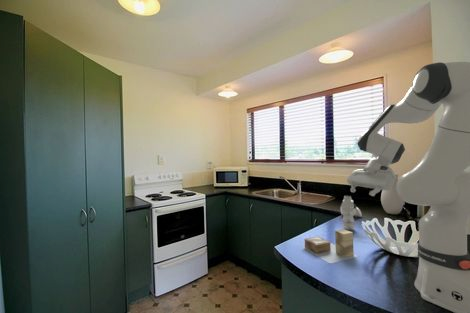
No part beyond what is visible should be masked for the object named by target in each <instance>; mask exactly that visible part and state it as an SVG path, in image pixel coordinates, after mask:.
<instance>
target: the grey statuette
mask: <svg viewBox="0 0 470 313" xmlns="http://www.w3.org/2000/svg"><path fill="white" fill-rule="evenodd" d="M343 200H344V201H343ZM343 200H342V202H341V204H342V210H343V215H342V224H341V226H342V228H343V229H345V230H347V231H354V230H355V228H356V224H355V220H354V217H353V210H354V204H355V203H354V202H353V203H354V204H353V203H352V202H351V200H352V196H351V195H344V196H343Z"/></svg>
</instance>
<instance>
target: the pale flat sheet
mask: <svg viewBox="0 0 470 313" xmlns="http://www.w3.org/2000/svg"><path fill="white" fill-rule="evenodd" d="M302 248H303V249H304V250H306V251H308V252H309V253H311V254H312V255H315V256H316V257H318V258H320V259H322V261H325V262H326V263H329V264H335V263H339V262H342V261H346V260H351V259H355V258H358V257H360V256H359V255H357V254H355V253H354V256H350V257H346V258H344V257H343V256H341V255H339V254H337V253H336V246H335V243H332V242H330V248H331V251H328V252H324V253H319V254H316V253H314V252H312V251H310V250H309V249H307V248H305V245H304V246H302Z"/></svg>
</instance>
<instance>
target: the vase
mask: <svg viewBox="0 0 470 313" xmlns="http://www.w3.org/2000/svg"><path fill="white" fill-rule="evenodd" d="M394 173H395V172H394ZM395 175H396V179H394V180H395V182H394V185H393V187H392V189H391V190H389V191H386V190H381V194H380V195H381V196H380V201H381V202H380V203H381V206H382V208H383V210H384V211H385V213H387V214H389V215H398V214H400V213H401V211H402V210H403V207H404V202H405V201H404V200H402V199H401V197H400V196H399V194H398V192H397V188H396V185H397V181H398V179H399V174H398V173H397V172H396V173H395Z"/></svg>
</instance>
